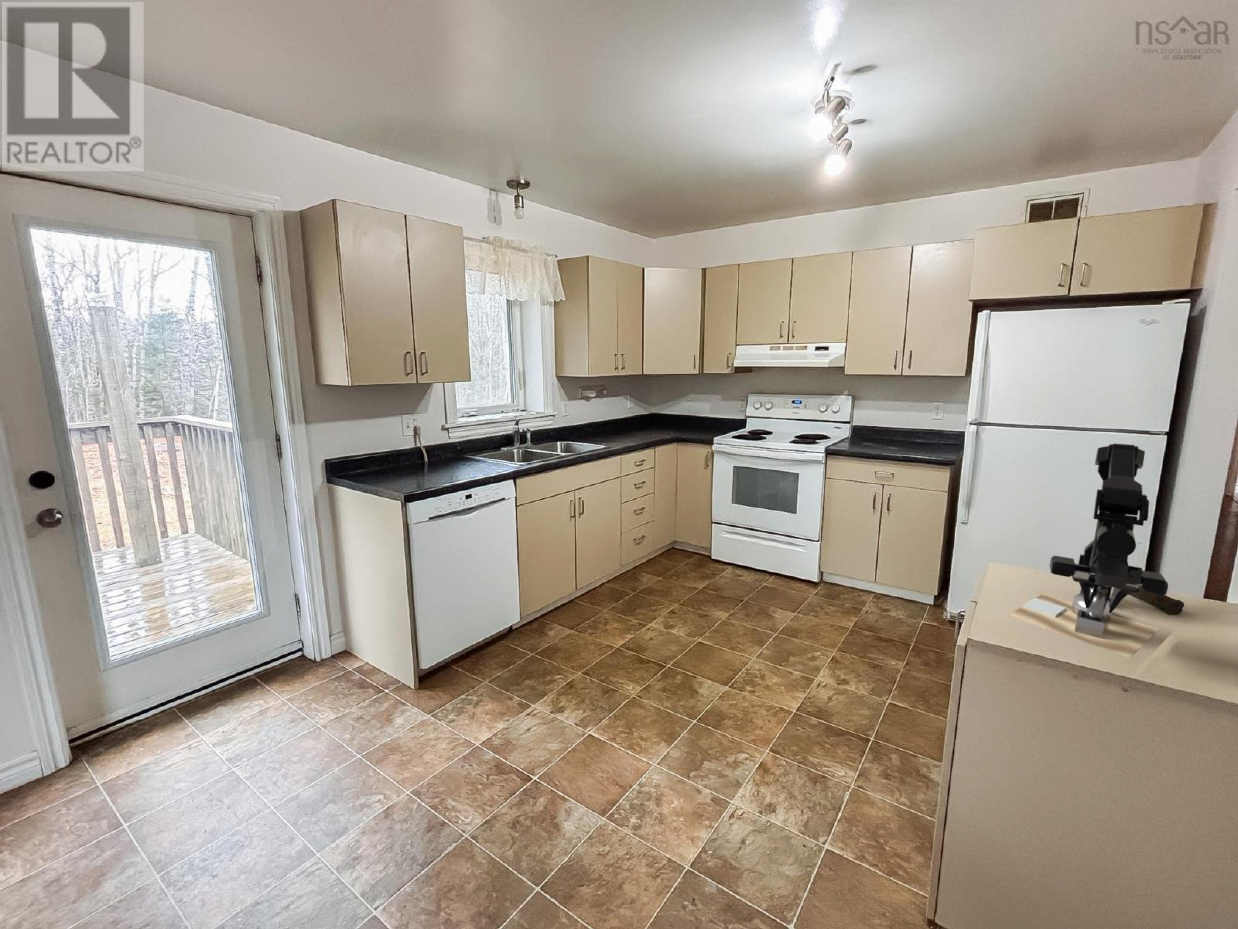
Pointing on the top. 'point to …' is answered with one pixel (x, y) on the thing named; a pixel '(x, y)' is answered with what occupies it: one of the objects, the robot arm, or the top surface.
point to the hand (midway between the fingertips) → (1097, 609)
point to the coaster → (1044, 607)
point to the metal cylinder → (1097, 602)
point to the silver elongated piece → (1087, 624)
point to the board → (1116, 635)
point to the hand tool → (1160, 601)
